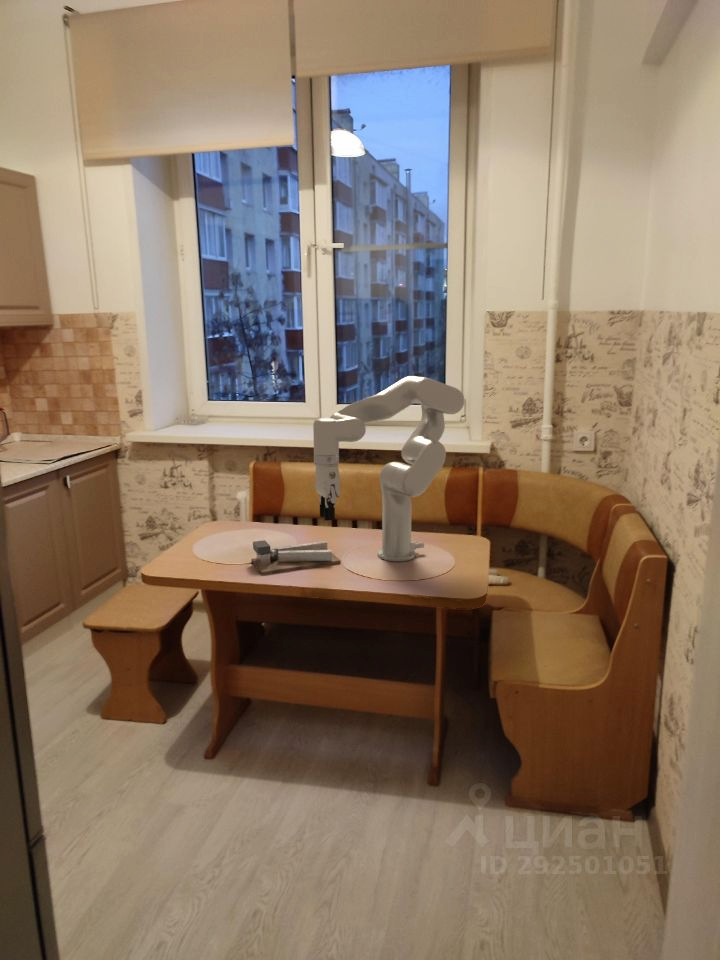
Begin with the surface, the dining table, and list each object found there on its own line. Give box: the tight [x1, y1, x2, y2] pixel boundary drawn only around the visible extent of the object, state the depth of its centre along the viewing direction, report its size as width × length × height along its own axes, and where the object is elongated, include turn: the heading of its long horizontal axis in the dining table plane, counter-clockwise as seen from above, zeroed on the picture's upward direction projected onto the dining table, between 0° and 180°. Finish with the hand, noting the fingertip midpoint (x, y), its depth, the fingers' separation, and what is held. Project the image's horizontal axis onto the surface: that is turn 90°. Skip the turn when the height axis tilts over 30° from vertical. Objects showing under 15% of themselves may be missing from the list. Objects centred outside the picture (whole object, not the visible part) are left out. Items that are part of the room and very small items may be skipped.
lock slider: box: [252, 539, 271, 555], centre depth 213 cm, size 4×6×2 cm, turn 23°
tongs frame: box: [255, 540, 328, 565], centre depth 217 cm, size 24×6×3 cm, turn 113°
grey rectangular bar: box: [270, 549, 333, 562], centre depth 214 cm, size 20×4×3 cm, turn 93°
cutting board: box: [251, 548, 342, 576], centre depth 216 cm, size 26×13×1 cm, turn 113°
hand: (327, 517), depth 205 cm, fingers open, 3 cm apart
